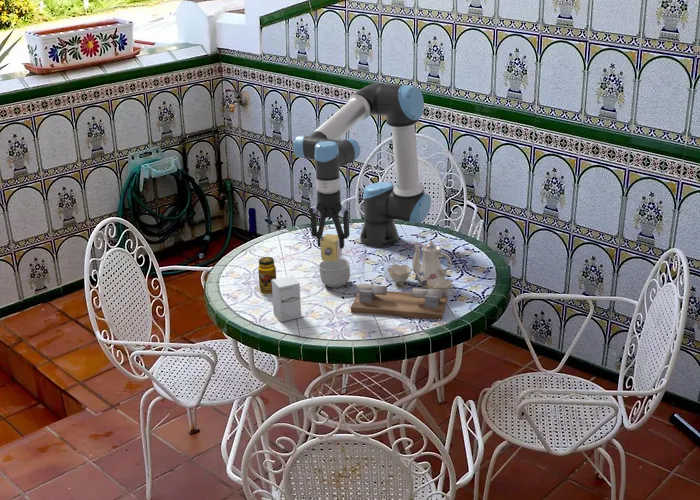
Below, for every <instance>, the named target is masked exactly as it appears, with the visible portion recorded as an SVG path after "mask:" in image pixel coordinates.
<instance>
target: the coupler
mask: <svg viewBox="0 0 700 500" xmlns="http://www.w3.org/2000/svg"><path fill="white" fill-rule="evenodd" d="M323 236H324V237H323V239H322V240H321V247H320V256H321V255H322V257H321V262H322V261H335V262H336V261H337V260H338V255H337V239H338V238H339V237H338V234H329V233H326V234H325V235H323Z"/></svg>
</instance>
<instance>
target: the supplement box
mask: <svg viewBox="0 0 700 500" xmlns="http://www.w3.org/2000/svg"><path fill="white" fill-rule="evenodd" d="M271 281H272V294H271V295H272V307H273V314H274V315H275V316H276V318H277V319H278V320H279V322H280V323H282V322H286V321H290V320H294V319H300V318H302V307H301V289H300V288H301V287H300V282H299V281H298V280H297V279H296V278H295V277H294V276H293V275H288V276H283V277H278V278H277V277H276V279H272V280H271Z"/></svg>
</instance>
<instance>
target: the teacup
mask: <svg viewBox="0 0 700 500" xmlns="http://www.w3.org/2000/svg"><path fill="white" fill-rule="evenodd" d="M318 269H319V276H320V280H321V283H323V284H324V285H325V286H327V287H329V288H340V287H343V286H345V285H346V284H347V283H348V282H349V280H350V277H351V271H350V261H349V260H347V259H345V258H340V259H338V260H337V261H336V262H335V261H322V260H321V262H319V264H318Z"/></svg>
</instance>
